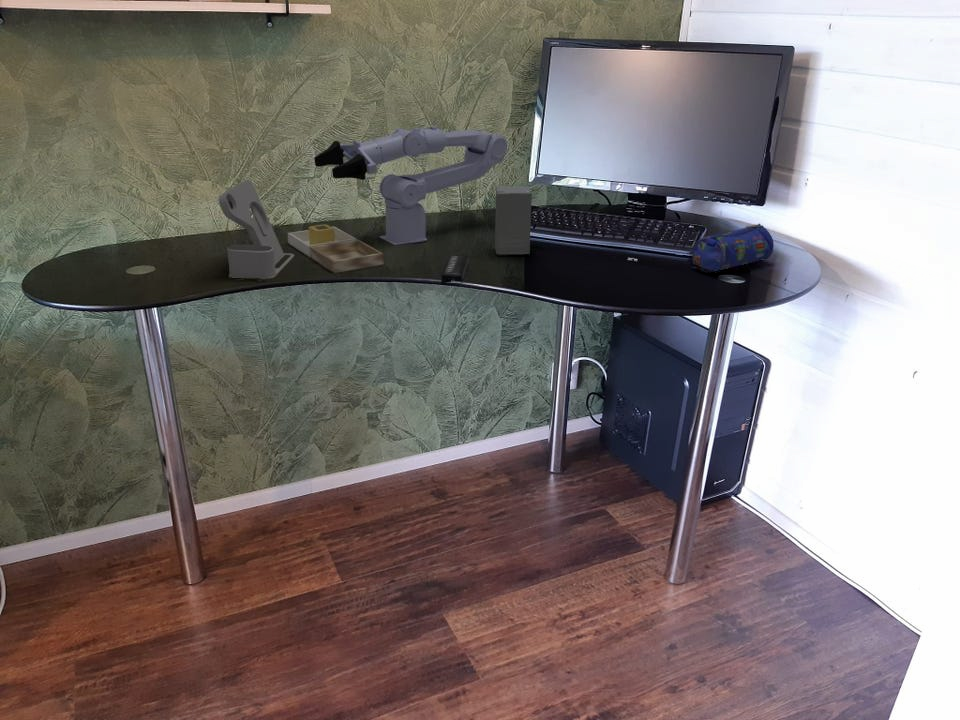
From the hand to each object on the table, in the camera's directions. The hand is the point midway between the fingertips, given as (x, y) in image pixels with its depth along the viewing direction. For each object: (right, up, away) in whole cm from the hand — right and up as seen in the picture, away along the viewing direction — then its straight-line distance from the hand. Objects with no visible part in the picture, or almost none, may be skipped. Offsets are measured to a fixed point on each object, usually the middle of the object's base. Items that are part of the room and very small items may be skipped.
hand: (324, 167), depth 173 cm
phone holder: (-13, -23, -1) cm, 26 cm away
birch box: (+5, -21, +3) cm, 22 cm away
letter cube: (-3, -16, +12) cm, 20 cm away
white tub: (-3, -16, +13) cm, 21 cm away
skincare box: (+42, -17, +14) cm, 48 cm away
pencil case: (+95, -21, +10) cm, 97 cm away
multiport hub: (+29, -24, 0) cm, 38 cm away
